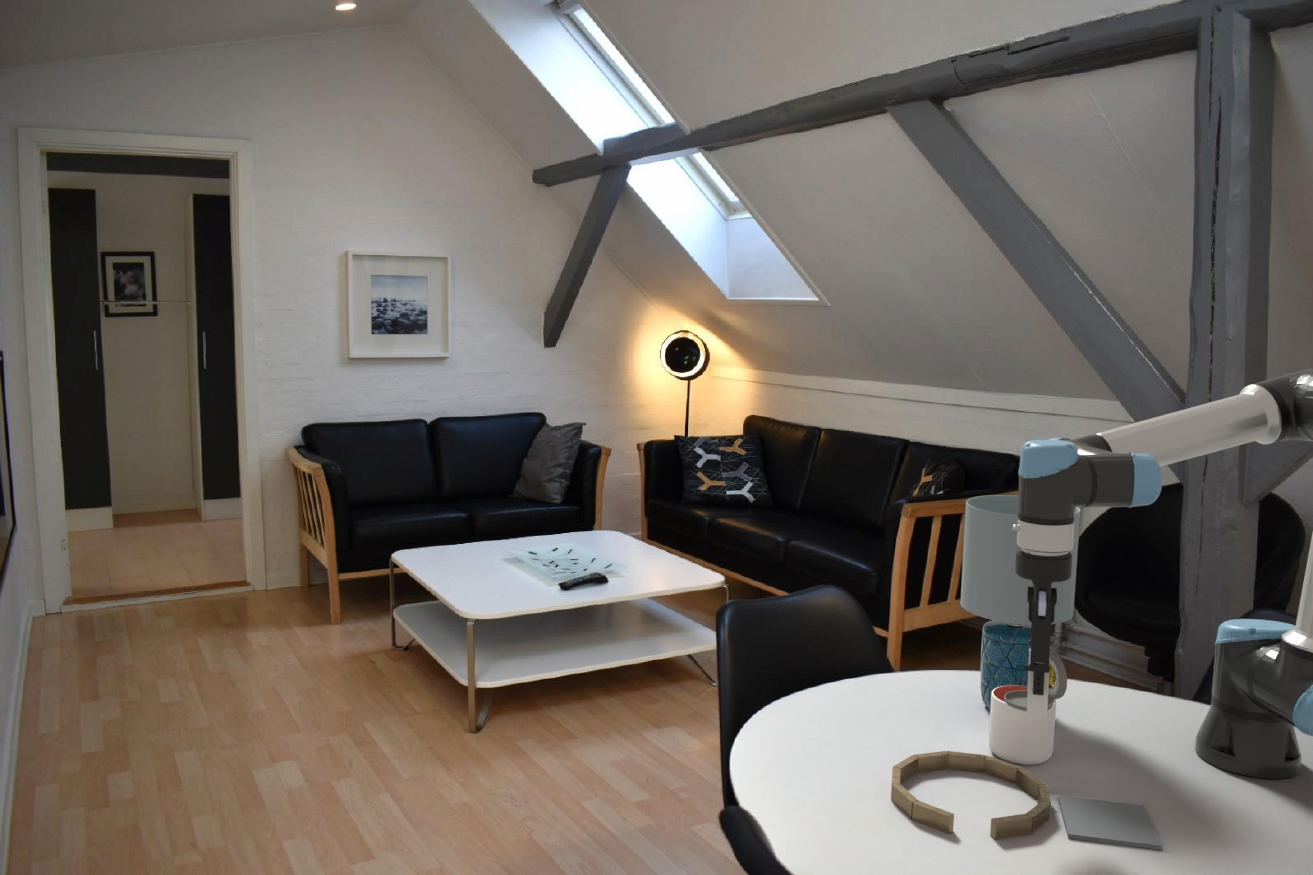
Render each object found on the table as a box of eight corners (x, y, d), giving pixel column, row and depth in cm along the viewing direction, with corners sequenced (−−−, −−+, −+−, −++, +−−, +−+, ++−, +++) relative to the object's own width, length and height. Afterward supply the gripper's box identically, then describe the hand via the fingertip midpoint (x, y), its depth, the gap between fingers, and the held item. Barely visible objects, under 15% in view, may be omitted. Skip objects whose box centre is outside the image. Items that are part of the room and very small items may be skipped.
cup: (1056, 770, 169) (1061, 710, 168) (991, 764, 171) (994, 704, 170) (1047, 744, 179) (1050, 687, 177) (985, 738, 181) (988, 682, 179)
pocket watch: (995, 705, 154) (998, 638, 152) (1023, 690, 159) (1026, 625, 158) (1049, 721, 148) (1053, 652, 146) (1076, 705, 154) (1080, 638, 152)
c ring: (1039, 776, 167) (1040, 761, 166) (1057, 847, 145) (1058, 830, 145) (893, 759, 172) (893, 744, 172) (889, 826, 150) (890, 809, 150)
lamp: (969, 728, 185) (981, 515, 180) (944, 687, 204) (954, 493, 199) (1082, 731, 184) (1097, 517, 179) (1046, 690, 203) (1058, 496, 198)
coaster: (1143, 808, 157) (1143, 804, 157) (1161, 849, 145) (1161, 845, 145) (1057, 798, 159) (1057, 794, 159) (1068, 837, 148) (1068, 833, 148)
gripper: (1017, 531, 162) (1011, 675, 165) (1014, 565, 142) (1007, 727, 145) (1070, 535, 159) (1063, 681, 162) (1074, 570, 140) (1066, 734, 143)
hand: (1036, 702), depth 154 cm, fingers closed on pocket watch, 8 cm apart
